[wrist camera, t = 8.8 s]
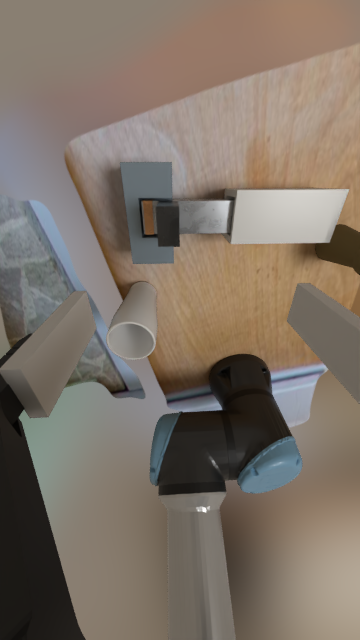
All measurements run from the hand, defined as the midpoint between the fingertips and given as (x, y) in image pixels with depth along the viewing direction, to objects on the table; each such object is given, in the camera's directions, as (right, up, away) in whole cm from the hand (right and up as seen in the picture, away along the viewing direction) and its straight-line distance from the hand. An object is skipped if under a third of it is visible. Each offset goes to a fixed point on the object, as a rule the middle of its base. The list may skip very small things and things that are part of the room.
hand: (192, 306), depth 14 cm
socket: (-4, +16, +20) cm, 26 cm away
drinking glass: (-8, +4, +28) cm, 29 cm away
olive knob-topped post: (+26, +13, +23) cm, 37 cm away
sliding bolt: (+3, +15, +18) cm, 24 cm away
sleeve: (+13, +16, +20) cm, 29 cm away
